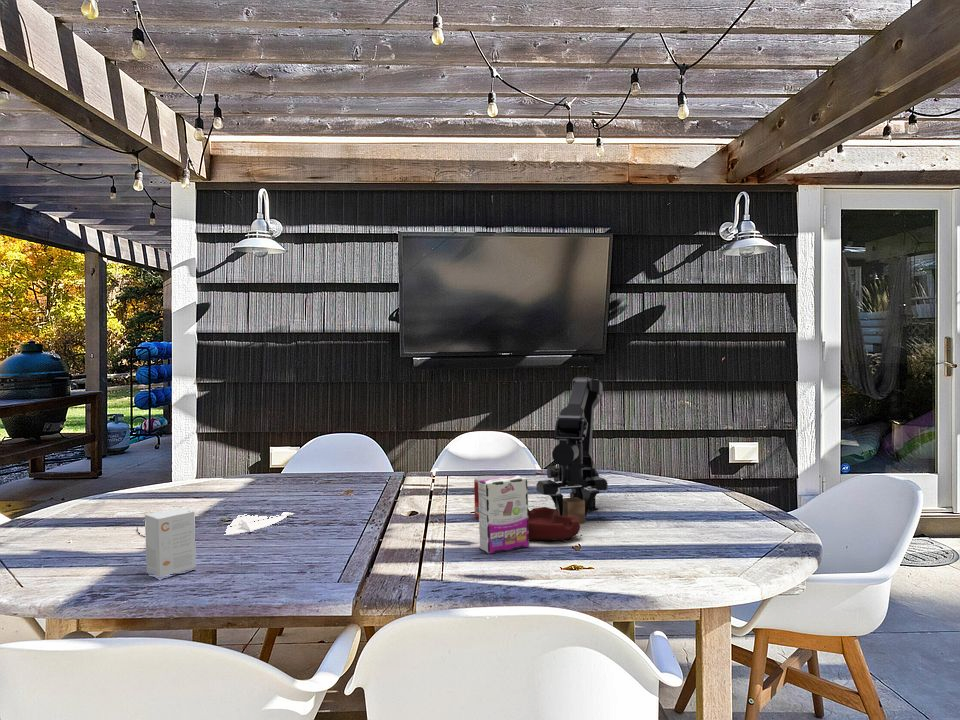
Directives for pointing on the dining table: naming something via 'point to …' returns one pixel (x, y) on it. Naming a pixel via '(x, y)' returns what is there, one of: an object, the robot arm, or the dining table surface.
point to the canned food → (477, 492)
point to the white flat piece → (252, 523)
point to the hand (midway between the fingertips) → (572, 517)
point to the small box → (170, 541)
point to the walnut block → (574, 508)
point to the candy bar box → (503, 514)
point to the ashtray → (551, 525)
